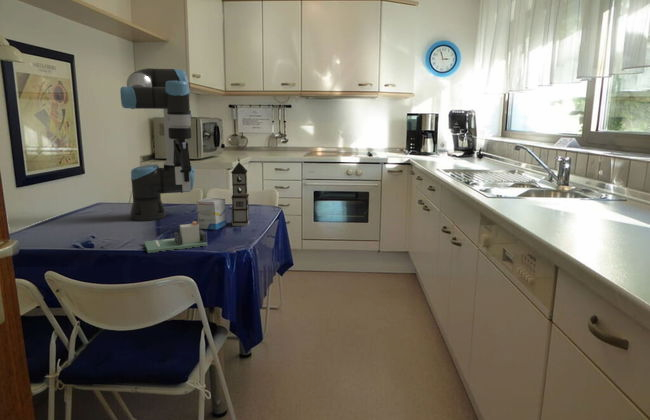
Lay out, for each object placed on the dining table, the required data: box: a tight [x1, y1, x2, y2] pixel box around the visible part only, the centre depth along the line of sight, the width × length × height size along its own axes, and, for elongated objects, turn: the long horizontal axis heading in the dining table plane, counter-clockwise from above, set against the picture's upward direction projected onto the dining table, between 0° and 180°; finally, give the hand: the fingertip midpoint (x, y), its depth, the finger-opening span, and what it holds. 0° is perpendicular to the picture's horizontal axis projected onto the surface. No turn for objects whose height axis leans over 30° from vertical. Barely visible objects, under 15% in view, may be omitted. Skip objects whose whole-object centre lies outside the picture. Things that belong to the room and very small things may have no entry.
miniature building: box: [230, 158, 250, 227], centre depth 192 cm, size 7×7×30 cm
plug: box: [179, 220, 200, 244], centre depth 164 cm, size 4×6×7 cm, turn 116°
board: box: [143, 229, 209, 254], centre depth 164 cm, size 12×20×4 cm, turn 117°
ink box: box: [196, 197, 227, 231], centre depth 189 cm, size 9×8×12 cm
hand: (183, 187), depth 163 cm, fingers open, 13 cm apart
